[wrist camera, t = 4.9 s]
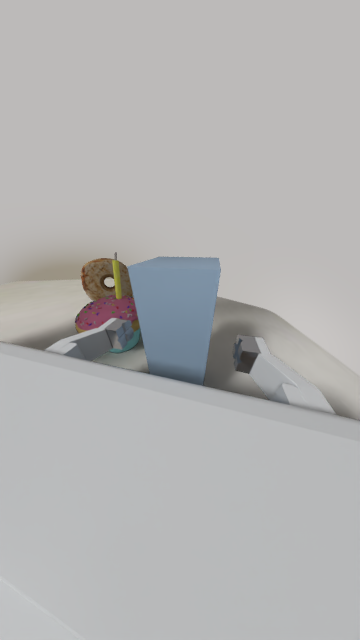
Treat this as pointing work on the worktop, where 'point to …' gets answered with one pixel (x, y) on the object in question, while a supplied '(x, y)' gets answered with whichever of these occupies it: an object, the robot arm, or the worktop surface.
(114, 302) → the cupcake
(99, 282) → the bagel
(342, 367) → the worktop surface
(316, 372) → the worktop surface
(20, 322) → the worktop surface
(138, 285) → the slate block
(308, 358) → the worktop surface
